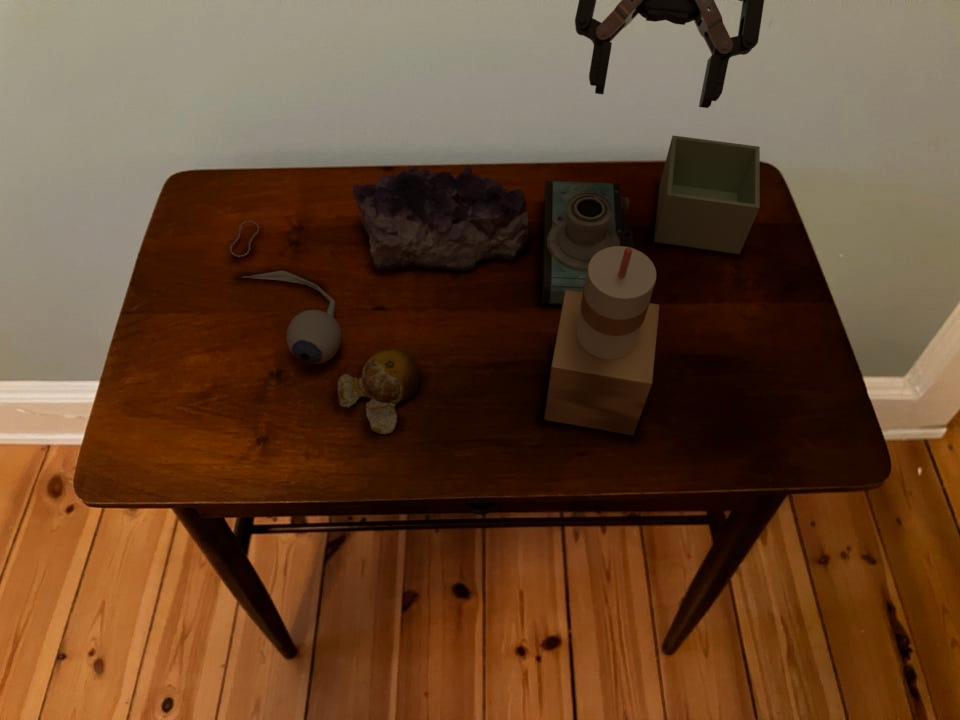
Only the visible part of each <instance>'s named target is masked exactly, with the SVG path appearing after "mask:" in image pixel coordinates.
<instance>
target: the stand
mask: <svg viewBox="0 0 960 720" xmlns="http://www.w3.org/2000/svg"><path fill="white" fill-rule="evenodd" d="M582 295H583V293H582V292H576V291H569V290H566V291H565V295H564V301H563V305H561V312H560V317H559V323H558V328H557V334H556V340H555V345H554V351H553V355H552V362H551V368H550V374H549V382H548V389H547V395H546V402H545V403H546V404H545V410H544V417H543V420H544V421H549V422H554V423H561V424H565V425H570V426H576V427H577V426H578V427H583V428H588V429H594V430H600V431H605V432H610V433H617V434H622V435H627V436H634V435H635V432H636V429H637V426H638V423H639V421H640V419H641V416H642V412H643V410H644V407H645V404H646V402H647V399H648V397H649V394H650V391H651V388H652V385H653V379H654V368H655V358H656V347H657V336H658V326H659V317H660V315H659V314H660V304H659V303H658V304H657V303H652V302H650V303H649V307H648V310H647V313H646V316H645V319H644V322H643V324H642V328H641V331H640V334H639V338H638V341H637V344H636V346H635V348H634V349H633V350H632V351H631V352H630V353H629V354H628V355H626V356H624V357H622V358H619V359H613V360H607V359H601V358H597V357H595V356H593V355H591V354H589V353H588V352H587V351H585V350H584V349H583V347H582V346H581V345H580V343H579V341H578V338H577V326H578V321H579V315H580V309H581V301H582Z"/></svg>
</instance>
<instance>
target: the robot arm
mask: <svg viewBox="0 0 960 720" xmlns="http://www.w3.org/2000/svg"><path fill="white" fill-rule="evenodd" d="M738 1H739V2H742V3H741V12H740V17H739V18H740V19H739V25H738V32H737V35H734V36H730V33H729V32H728V30H727V28H726V26H725V23H724V21H723V16H722V14H721V12H720V10H719V7H718V6H717V3H716V1H715V0H620V2H618V4H617V5H616V6H615V8H614V9H613V10H612V11H611V12H610V13H609V14H608V15H607V17H606V18H605V19H604V20H602V21H599V20H597V19H595V18H594V13H595V9H596V4H597V0H578V4H577V8H576V14H575V17H574V25H575V32H576V33H577V35H579V36H583V37H585V38H587V39H589V40H590V41H591V42H592V44H593V48H592V55H591V61H590V68H589V72H588V73H589V75H588V81H589V84H590V86H594V87H595V88H594V89H595V90H594V94H596V95H597V94H598V95H604V93H605V88H606V83H607V82H606V81H607V76H608V69H609V63H610V57H611V53H612V45H613V43H612V41H613V40H614V39H615V38H616V37H617V35H619V34H620V33H621V31H622V30H624V29H625V28H626V27H627V26H628V25H629V24H630V23H632V21H633V20H635V18H636V17H637V16H638V15H640V16H641V17H642V18H644V19H645V21H646V22H661V21H662V22H663V21H667V22H670V23H672V24H674V25H683V26H686V24H687V23H690V22H694V24H695V26H696V27H697V28H696V29H697V31H698V33H699V34H700V37H702V38H703V39H704V41H705V44H706V45H707V47H708V49H709V52H710V53H711V56H710V57H709V58H708V59H707V61H706V62H707V63H706V67H705V73H704V76H703V77H704V78H703V81H702V82H703V83H702V87H701V93H700V98H699V103H698V107H699V108H702V109H703V108H704V109H709V108H710V107H711V105H712V103H713V102H717V101H718V100H719V98H720V96H721V95H722V93H723V89H724V85H725V80H726V76H727V70H728V65H729V61H730V58H732V57H735V56H740V55H742V56H743V55H744V56H745V55H747V54H749V53H750V52H751V51H752V50H753V49H754V48H755V47H756V46H757V45H758V43H759V40H760V39H759V38H760V32H761V24H762V19H763V12H764V11H763V10H764V5H765V0H738Z"/></svg>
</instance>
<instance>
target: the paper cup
mask: <svg viewBox="0 0 960 720" xmlns="http://www.w3.org/2000/svg"><path fill="white" fill-rule="evenodd" d="M656 269H657V268H656V266H655V265H654V263H653V261H652V260H651V258H650V257H648V256H647V254H645V253H644V252H642V251H640V250H638V249H635V248H634V249H633V248H630V247H624V246H614V247H608V248H605V249H603V250H601V251H599V252H598V253H596V254H595V255H594V256H593V257H592V259H591V260H590V262H589V265H588V270H587V276H586V281H585V285H584V289H583V295H582V301H581V309H580V315H579V321H578V326H577V338H578V341H579V343H580V345H581V346H582V347H583V349H584V350H585V351H587V352H588V353H589V354H591V355H593V356H595V357H597V358H601V359H607V360H613V359H619V358H622V357H624V356H626V355H628V354H629V353H630V352H631V351H632V350H633V349H634V348H635V346H636V344H637V341H638V338H639V334H640V331H641V328H642V324H643V322H644V319H645V316H646V313H647V310H648V307H649V303H651V298H652V295H653V291H654V288H655V285H656V281H657V270H656Z"/></svg>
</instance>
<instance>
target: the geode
mask: <svg viewBox="0 0 960 720" xmlns="http://www.w3.org/2000/svg"><path fill="white" fill-rule="evenodd" d="M352 194H353V198H354V200H355V202H356V206H357V208H358V210H359V212H360V218H359V220H360V222H361V223H362V226H363V228H364V231H365V233H366V235H367V236H368V237H369V240H368V244H369V245H370V248H369V252H370V256H371V258H372V261H373V266H374V267H373V268H375V269H376V270H385V271H391V270H396V269H399V268H407V267H413V266H417V267H420V268H423V269H428V270H433V269H436V270H448V271H451V272H452V271H453V272H466V271H470V270H472V269H474V268H475V267H476V266H477V265H478V263H479V262H483V261H487V260H488V261H489V260H492V259H501V260H506V261H515V260H516V258H517V257H518V256H519V255H520V254H521V253H523V251H524V250H526V248H527V243H528V241H529V230H528V228H529V225H528V224H529V222H530V220H529V218H528V216H529V215H528V212H527V205H528V204H527V200H526V198H525V193H524V191H523V189H521V188H517V189H513V190H510V191H508V189H507V188H504V185H503V184H502V183H500V182H497V181H495V180H493V179H491V178H490V177H485V178H483V177H481V176H478V175H477V174H474V173H473V168H472V167H471V166H466V167H465V168H464V170H463V171H462V172H461V173H459V174H458V175H457V176H455V177H454V176H453V175H452V174H451V173H450V172H449V171H447V172H446V170H445V171H441V172H437V171H434V170H433V171H432V170H428V169H421V170H419V168H418V167H417V166H416V165H415V166H413V167H412V168H410V169H408V170H405V171H400V172H399V173H398V174H397V175H384V176H380V177H379V178H378V179H377V182H376V183H375V184H354V185H353V186H352Z"/></svg>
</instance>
